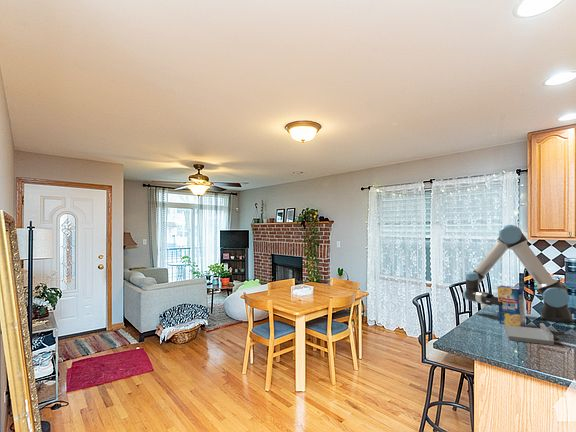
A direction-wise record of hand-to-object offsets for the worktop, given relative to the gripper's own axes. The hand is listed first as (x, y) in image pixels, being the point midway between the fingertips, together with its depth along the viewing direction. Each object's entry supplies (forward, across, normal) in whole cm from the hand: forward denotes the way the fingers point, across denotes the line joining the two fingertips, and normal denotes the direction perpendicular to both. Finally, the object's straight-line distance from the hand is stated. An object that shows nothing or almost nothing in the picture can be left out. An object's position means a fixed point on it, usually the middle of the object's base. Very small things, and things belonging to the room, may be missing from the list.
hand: (520, 305), depth 184 cm
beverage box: (-5, 0, -12) cm, 13 cm away
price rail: (+19, +8, -10) cm, 23 cm away
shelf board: (+13, +13, -12) cm, 22 cm away
